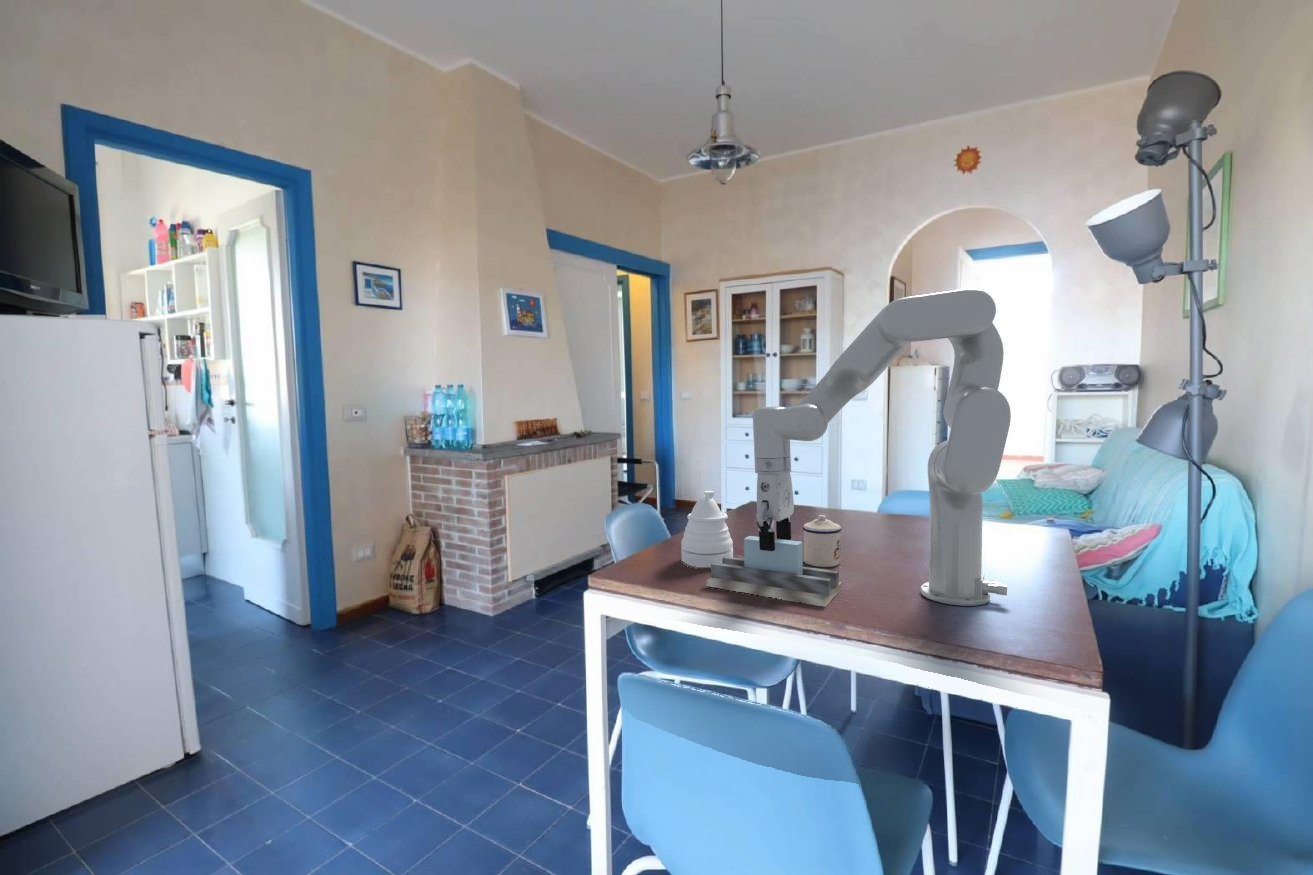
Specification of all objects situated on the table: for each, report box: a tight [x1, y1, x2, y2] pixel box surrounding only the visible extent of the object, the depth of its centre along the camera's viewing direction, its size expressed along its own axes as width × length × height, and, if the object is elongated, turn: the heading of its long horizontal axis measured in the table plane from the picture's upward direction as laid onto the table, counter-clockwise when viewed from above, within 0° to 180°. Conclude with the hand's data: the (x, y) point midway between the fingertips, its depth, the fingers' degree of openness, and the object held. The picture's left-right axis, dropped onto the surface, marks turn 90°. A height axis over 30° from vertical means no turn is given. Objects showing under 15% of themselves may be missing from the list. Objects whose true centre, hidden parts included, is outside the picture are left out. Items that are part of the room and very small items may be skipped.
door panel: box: [743, 535, 804, 575], centre depth 132 cm, size 12×3×9 cm, turn 58°
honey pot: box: [680, 490, 734, 567], centre depth 154 cm, size 13×13×18 cm
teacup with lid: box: [802, 514, 842, 568], centre depth 152 cm, size 12×9×12 cm
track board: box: [705, 556, 843, 608], centre depth 132 cm, size 26×12×4 cm, turn 58°
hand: (775, 544), depth 132 cm, fingers open, 9 cm apart
